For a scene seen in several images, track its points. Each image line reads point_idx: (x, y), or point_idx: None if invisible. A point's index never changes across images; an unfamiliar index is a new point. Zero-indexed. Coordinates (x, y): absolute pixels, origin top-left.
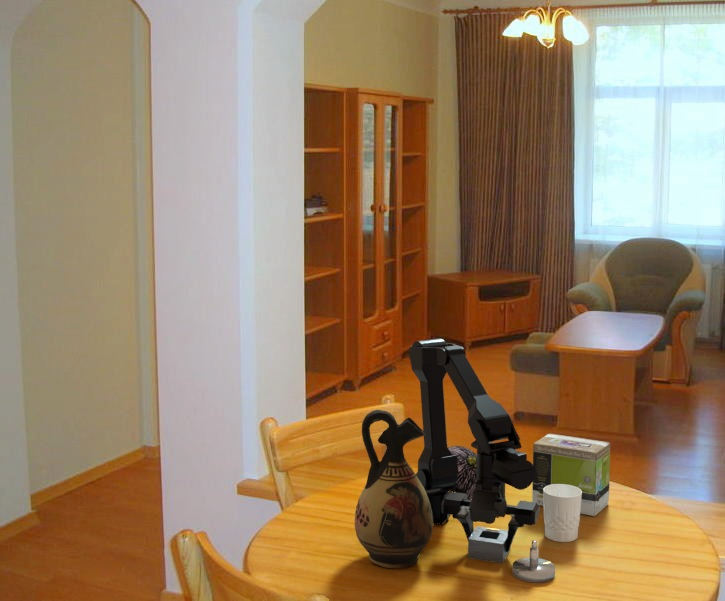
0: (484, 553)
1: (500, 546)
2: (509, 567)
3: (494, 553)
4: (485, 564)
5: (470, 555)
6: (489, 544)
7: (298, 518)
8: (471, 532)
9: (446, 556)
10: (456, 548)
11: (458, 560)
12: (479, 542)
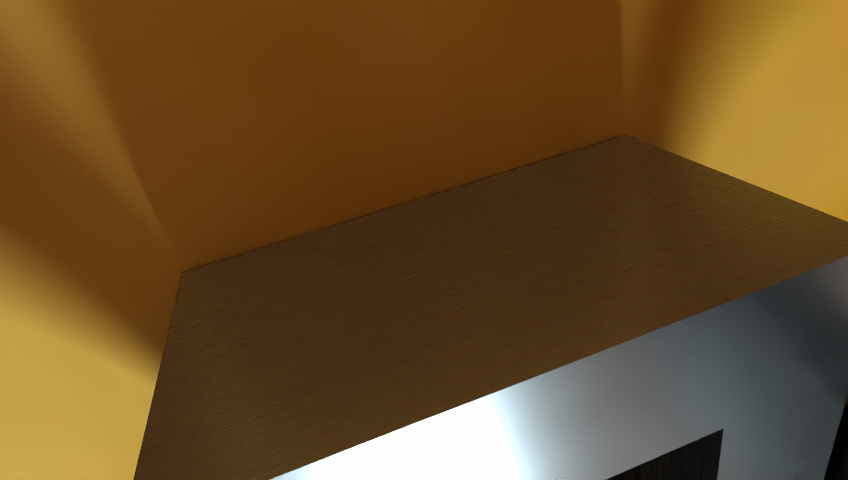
0: (469, 238)
1: (205, 448)
2: (5, 224)
3: (315, 299)
4: (368, 102)
5: (623, 156)
6: (451, 362)
7: None
8: (843, 463)
9: (842, 33)
10: None
11: (710, 7)
12: (655, 297)
